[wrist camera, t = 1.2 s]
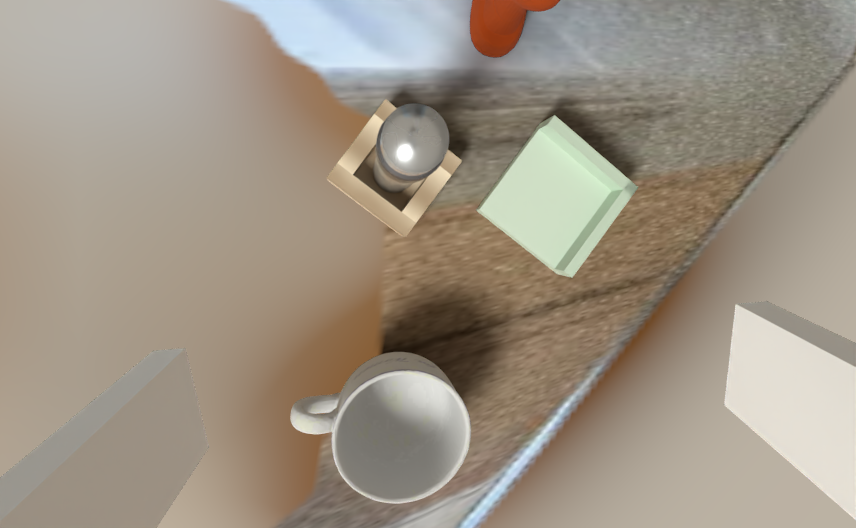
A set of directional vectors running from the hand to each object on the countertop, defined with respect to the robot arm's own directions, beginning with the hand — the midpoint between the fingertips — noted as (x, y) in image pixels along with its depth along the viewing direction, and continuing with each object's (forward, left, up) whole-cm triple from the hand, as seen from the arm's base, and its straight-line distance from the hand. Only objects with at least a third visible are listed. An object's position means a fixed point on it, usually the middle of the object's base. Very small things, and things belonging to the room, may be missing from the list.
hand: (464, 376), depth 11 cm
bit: (-7, -5, -30) cm, 31 cm away
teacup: (+10, +6, -31) cm, 34 cm away
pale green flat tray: (-14, +8, -31) cm, 35 cm away
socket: (-7, -5, -31) cm, 32 cm away
